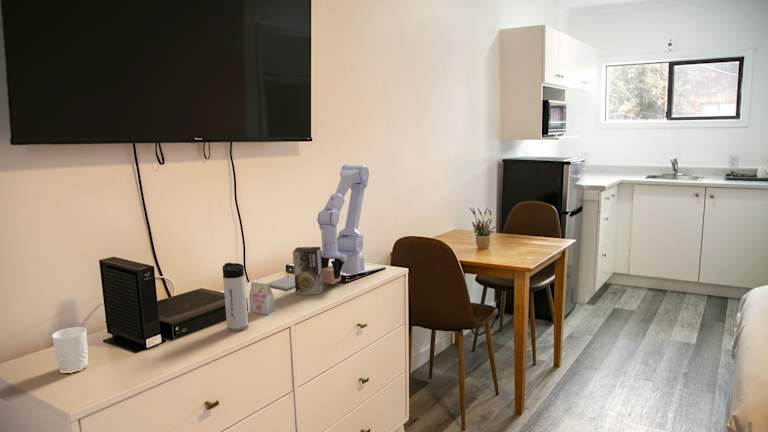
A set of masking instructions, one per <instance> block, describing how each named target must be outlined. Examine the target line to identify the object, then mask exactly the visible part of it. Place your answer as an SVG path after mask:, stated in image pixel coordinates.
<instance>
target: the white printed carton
mask: <svg viewBox="0 0 768 432" xmlns="http://www.w3.org/2000/svg"><path fill="white" fill-rule="evenodd" d="M250 286H251V287H250V290H249V308H250V313H251V312H253V313H252V314H256V313H258V315H263V314H264V316H269V315H270V314H273V313H275V302H274V294H273V292H272V289H271V288H272V287H270V285H269V284H267V283H265V282H256V281H251V284H250Z"/></svg>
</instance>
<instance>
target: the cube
mask: <svg viewBox="0 0 768 432" xmlns="http://www.w3.org/2000/svg"><path fill="white" fill-rule="evenodd" d="M322 280H323V283H325V284H330V285H334V284H336V283H338V282H341V281H342V277H341V272H340V278H338V279H335V277H334V270H333V266H332V265H328V267H326V268H323V269H322Z"/></svg>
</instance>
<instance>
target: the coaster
mask: <svg viewBox="0 0 768 432" xmlns="http://www.w3.org/2000/svg"><path fill="white" fill-rule="evenodd" d="M266 284H269V285H270V288H275V289H277V290H278V289H279V290H282V291H283V290H284V291H287V292H289V291H291V290H293V289H296V288H295V277H293V276H284V277H282V278H279V279H276V280H273V281H270V282H267V283H266Z"/></svg>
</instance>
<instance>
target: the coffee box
mask: <svg viewBox="0 0 768 432" xmlns="http://www.w3.org/2000/svg"><path fill="white" fill-rule="evenodd" d="M321 249H322V246H321V247H320V246H303V247H302V246H301V247H299V246H298V247H296V248H295V249H294V250H293V251H292V259H293V271H294V272H293V274H294V278H295V288H294V289H295V295H321V293H322V291H324V286H323V285H324V282H323V280H322V264H321V251H322V250H321Z"/></svg>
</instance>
